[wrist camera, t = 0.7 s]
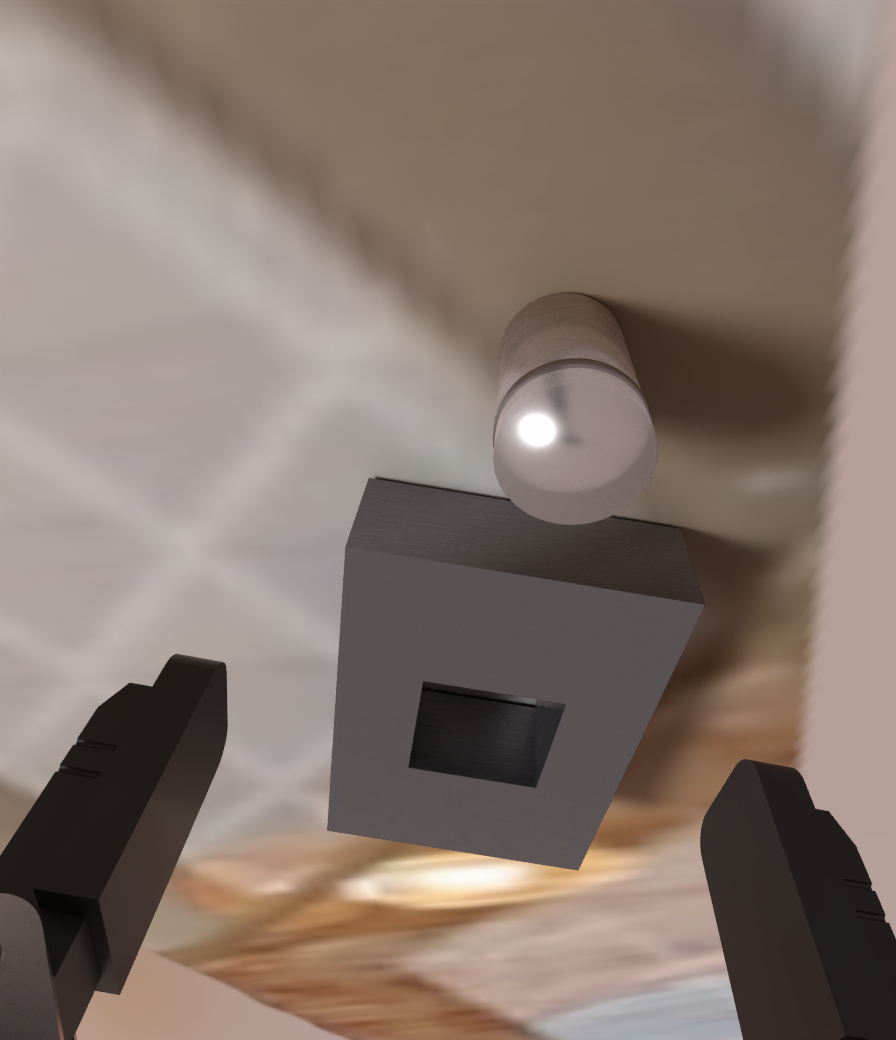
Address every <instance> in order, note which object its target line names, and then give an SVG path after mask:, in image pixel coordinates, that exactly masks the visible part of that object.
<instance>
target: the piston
mask: <svg viewBox="0 0 896 1040" xmlns="http://www.w3.org/2000/svg"><path fill="white" fill-rule="evenodd" d="M493 447H494V468H495V473H496V476H497V479H498V482H499V484H500V486H501V488H502V490H503V491H504V492H505V494H506V495H507V497H508V498H509V499H510V500H511V501H512V502H513V503H514V504H515V505H516V506H518V507H519V508H520V509H521V510H523V511H524V512H526V513H528V514H529V515H531V516H534V517H536V518H538V519H541V520H544V521H547V522H551V523H556V524H565V525H578V524H587V523H591V522H596V521H599V520H602V519H605V518H608V517H610V516H612V515H614V514H616V513H618V512H620V511H621V510H623V509H625V508H626V507H627V506H629V505H630V504H631V503H632V502H633V501H635V500H636V499H637V498H638V497H639V496H640V494H641V493H642V492H643V491H644V489H645V488H646V486H647V485H648V483H649V482H650V480H651V478H652V475H653V473H654V470H655V467H656V463H657V456H658V444H657V439H656V434H655V431H654V428H653V421H652V416H651V413H650V410H649V407H648V404H647V402H646V399H645V397H644V395H643V393H642V391H641V388H640V385H639V382H638V379H637V376H636V373H635V370H634V367H633V364H632V361H631V358H630V355H629V352H628V349H627V346H626V343H625V340H624V337H623V334H622V331H621V328H620V326H619V324H618V322H617V320H616V318H615V317H614V316H613V314H612V313H611V312H610V311H609V310H608V309H607V308H606V307H605V306H604V305H602V304H601V303H600V302H598V301H596V300H594V299H592V298H590V297H587V296H585V295H580V294H575V293H557V294H551V295H548V296H544V297H542V298H539V299H537V300H535V301H533V302H532V303H530V304H528V305H527V306H526V307H524V308H523V309H522V310H521V311H520V312H519V313H518V314H517V315H516V316H515V317H514V318H513V320H512V321H511V322H510V324H509V326H508V327H507V329H506V332H505V334H504V336H503V340H502V344H501V352H500V366H499V381H498V396H497V411H496V417H495V422H494V432H493Z"/></svg>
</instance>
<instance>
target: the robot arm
mask: <svg viewBox="0 0 896 1040" xmlns="http://www.w3.org/2000/svg"><path fill="white" fill-rule="evenodd" d="M227 727H228V720H227V671H226V665H225V663H224V662H219V661H213V660H208V659H202V658H197V657H191V656H186V655H180V654H175V655H173V656H172V657H171V658H170V659H169V660H168V662H167V663H166V665H165V666H164V668H163V670H162V671H161V673H160V675H159V676H158V678H157V680H156V681H155V683H154V685H153V687H151V686H145V685H140V684H134V683H129V684H127V685H126V686H125V687H124V688H122V689H121V690H120V691H118V692H117V693H116V694H114V695H113V696H112V697H111V698H109V699H108V700H107V701H105V702H104V703H103V704H102V705H100V706H99V707H98V708H97V710H96V711H95V713H94V714H93V716H92V717H91V719H90V720H89V722H88V723H87V725H86V726H85V728H84V729H83V731H82V732H81V734H80V735H79V737H78V738H77V743H76V745H73V746H72V748H71V749H70V751H69V752H68V754H67V755H66V757H65V758H64V760H63V761H62V763H61V764H60V769H59V771H58V772H55V773H54V775H53V776H52V778H51V779H50V781H49V782H48V784H47V785H46V787H45V789H44V790H43V792H42V793H41V795H40V796H39V798H38V799H37V801H36V802H35V804H34V805H33V807H32V808H31V810H30V811H29V813H28V814H27V816H26V817H25V819H24V820H23V822H22V823H21V825H20V826H19V828H18V830H17V831H16V833H15V834H14V836H13V837H12V839H11V840H10V842H9V843H8V845H7V846H6V848H5V849H4V851H3V852H2V854H1V855H0V1040H77V1037H76V1030H77V1028H78V1026H79V1024H80V1022H81V1020H82V1017H83V1015H84V1013H85V1011H86V1009H87V1007H88V1004H89V1002H90V1000H91V998H92V996H93V994H94V991H100V992H106V993H111V994H117V995H120V993H121V991H122V988H123V986H124V984H125V981H126V979H127V976H128V975H129V972H130V970H131V968H132V965H133V963H134V961H135V958H136V956H137V954H138V951H139V949H140V947H141V944H142V942H143V940H144V938H145V935H146V933H147V931H148V928H149V926H150V924H151V921H152V919H153V917H154V914H155V912H156V910H157V907H158V905H159V903H160V900H161V898H162V896H163V894H164V891H165V889H166V887H167V884H168V882H169V880H170V877H171V875H172V873H173V870H174V868H175V866H176V863H177V861H178V859H179V856H180V854H181V852H182V849H183V847H184V845H185V843H186V840H187V838H188V836H189V833H190V831H191V829H192V826H193V824H194V822H195V819H196V817H197V815H198V812H199V810H200V808H201V805H202V803H203V801H204V799H205V796H206V794H207V792H208V789H209V787H210V785H211V782H212V780H213V778H214V775H215V773H216V771H217V768H218V766H219V763H220V760H221V757H222V754H223V750H224V746H225V742H226V736H227ZM700 847H701V855H702V861H703V865H704V869H705V874H706V878H707V882H708V887H709V891H710V896H711V900H712V904H713V909H714V913H715V918H716V922H717V926H718V931H719V935H720V940H721V944H722V948H723V953H724V957H725V962H726V966H727V970H728V975H729V979H730V984H731V988H732V992H733V997H734V1001H735V1005H736V1010H737V1014H738V1019H739V1023H740V1027H741V1032H742V1036H743V1040H896V938H895V936H894V934H893V931H892V929H891V927H890V924H889V923H886V922H885V913H884V910H883V908H882V906H881V903H880V901H879V899H878V896H877V894H876V892H875V891H872V889H871V885H872V883H871V880H870V878H869V875H868V873H867V871H866V868H865V866H864V864H863V861H862V859H861V857H860V854H859V852H858V850H857V847H856V845H855V844H854V843H853V842H852V841H851V839H850V838H849V837H848V836H847V834H846V833H845V831H844V830H843V829H842V828H841V826H840V825H839V824H838V823H837V821H836V820H835V819H834V817H833V816H832V815H831V814H830V812H829V811H824V810H819V809H815V807H814V804H813V802H812V799H811V797H810V794H809V791H808V789H807V786H806V784H805V782H804V779H803V777H802V776H801V774H800V773H799V772H798V771H797V770H796V769H794V768H791V767H785V766H780V765H774V764H769V763H763V762H758V761H752V760H747V759H744V760H741V761H740V762H739V763H738V764H737V765H736V766H735V768H734V770H733V771H732V773H731V774H730V776H729V778H728V779H727V781H726V782H725V784H724V786H723V787H722V789H721V790H720V792H719V794H718V795H717V797H716V798H715V800H714V802H713V803H712V805H711V806H710V808H709V810H708V811H707V813H706V815H705V817H704V820H703V823H702V828H701V836H700Z"/></svg>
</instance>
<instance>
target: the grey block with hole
mask: <svg viewBox="0 0 896 1040" xmlns="http://www.w3.org/2000/svg"><path fill="white" fill-rule="evenodd" d="M704 606H705V603H704V600H703V596H702V593H701V590H700V587H699V584H698V581H697V577H696V574H695V571H694V568H693V565H692V562H691V559H690V555H689V552H688V549H687V546H686V543H685V540H684V536H683V533H682V530H681V529H679V528H673V527H667V526H660V525H654V524H648V523H642V522H636V521H630V520H624V519H618V518H611V517H608V518H605V519H602V520H599V521H596V522H591V523H587V524H578V525H565V524H556V523H551V522H547V521H544V520H541V519H538V518H536V517H534V516H531V515H529V514H528V513H526V512H524V511H523V510H521V509H520V508H519V507H518V506H516V505H515V504H514V503H513V502H512V501H507V500H501V499H495V498H489V497H483V496H477V495H470V494H464V493H458V492H452V491H446V490H440V489H434V488H428V487H421V486H415V485H409V484H403V483H397V482H391V481H385V480H378V479H372V478H369V479H368V482H367V485H366V488H365V491H364V494H363V497H362V500H361V503H360V505H359V508H358V511H357V514H356V517H355V520H354V523H353V526H352V529H351V532H350V535H349V538H348V541H347V544H346V547H345V562H344V578H343V593H342V609H341V625H340V640H339V656H338V671H337V687H336V702H335V718H334V733H333V749H332V764H331V780H330V795H329V811H328V826H327V831H333V832H339V833H346V834H352V835H358V836H364V837H371V838H377V839H383V840H390V841H396V842H402V843H409V844H415V845H421V846H427V847H434V848H440V849H446V850H453V851H459V852H465V853H472V854H478V855H484V856H490V857H497V858H503V859H509V860H516V861H522V862H528V863H535V864H541V865H547V866H554V867H560V868H566V869H572V870H579V868H580V866H581V864H582V862H583V859H584V857H585V855H586V853H587V851H588V849H589V847H590V845H591V843H592V841H593V839H594V836H595V834H596V832H597V830H598V828H599V826H600V824H601V822H602V820H603V818H604V816H605V813H606V811H607V809H608V807H609V805H610V803H611V801H612V799H613V797H614V795H615V793H616V790H617V788H618V786H619V784H620V782H621V780H622V778H623V776H624V774H625V772H626V770H627V767H628V765H629V763H630V761H631V759H632V757H633V755H634V753H635V751H636V749H637V746H638V744H639V742H640V740H641V738H642V736H643V734H644V732H645V730H646V728H647V726H648V723H649V721H650V719H651V717H652V715H653V713H654V711H655V709H656V707H657V705H658V703H659V700H660V698H661V696H662V694H663V692H664V690H665V688H666V686H667V684H668V682H669V680H670V677H671V675H672V673H673V671H674V669H675V667H676V665H677V663H678V661H679V659H680V657H681V654H682V652H683V650H684V648H685V646H686V644H687V642H688V640H689V638H690V636H691V634H692V631H693V629H694V627H695V625H696V623H697V621H698V619H699V617H700V615H701V613H702V611H703V608H704ZM423 681H426V682H433V683H439V684H445V685H451V686H457V687H464V688H470V689H476V690H482V691H489V692H495V693H501V694H507V695H513V696H520V697H526V698H532V699H537V702H536V705H535V708H533V707H526V706H520V705H514V704H508V703H502V702H495V701H489V700H483V699H477V698H470V697H464V696H458V695H452V694H445V693H439V692H433V691H427V690H422V684H423Z"/></svg>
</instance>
